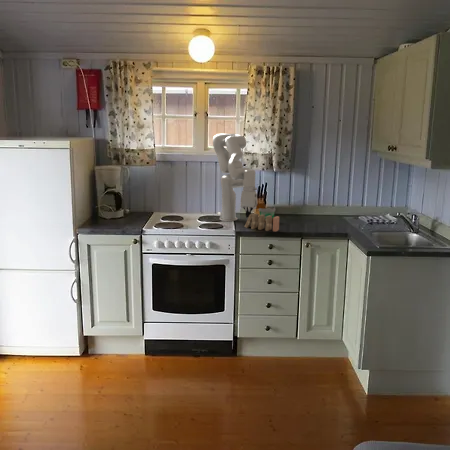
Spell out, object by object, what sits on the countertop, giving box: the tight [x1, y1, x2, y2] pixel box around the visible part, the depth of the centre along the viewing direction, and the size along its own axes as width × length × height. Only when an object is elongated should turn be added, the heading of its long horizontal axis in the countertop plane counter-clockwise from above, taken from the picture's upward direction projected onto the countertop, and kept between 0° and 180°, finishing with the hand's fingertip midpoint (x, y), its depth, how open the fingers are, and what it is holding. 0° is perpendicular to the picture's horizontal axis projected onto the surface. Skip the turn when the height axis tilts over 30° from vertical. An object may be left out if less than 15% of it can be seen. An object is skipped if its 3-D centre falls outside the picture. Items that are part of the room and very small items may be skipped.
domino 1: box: [244, 213, 254, 229], centre depth 303 cm, size 2×5×9 cm, turn 151°
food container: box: [258, 206, 277, 224], centre depth 318 cm, size 12×6×10 cm, turn 112°
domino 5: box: [272, 216, 280, 232], centre depth 295 cm, size 2×5×9 cm, turn 151°
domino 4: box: [264, 215, 273, 232], centre depth 297 cm, size 2×5×9 cm, turn 151°
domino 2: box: [250, 213, 260, 230], centre depth 302 cm, size 2×5×9 cm, turn 151°
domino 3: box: [257, 214, 266, 231], centre depth 299 cm, size 2×5×9 cm, turn 151°
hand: (248, 217), depth 303 cm, fingers closed
